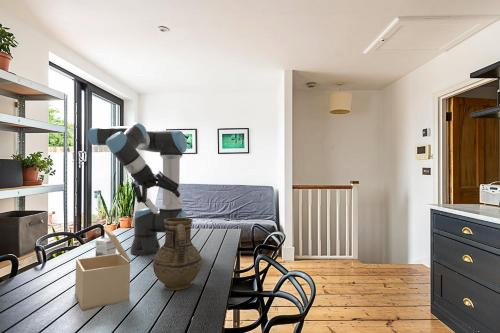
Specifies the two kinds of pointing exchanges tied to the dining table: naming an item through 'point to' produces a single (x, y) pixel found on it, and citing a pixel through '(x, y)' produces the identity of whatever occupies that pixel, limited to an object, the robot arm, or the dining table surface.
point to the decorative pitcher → (177, 256)
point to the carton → (102, 281)
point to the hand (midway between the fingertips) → (168, 207)
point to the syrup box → (104, 247)
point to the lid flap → (117, 244)
